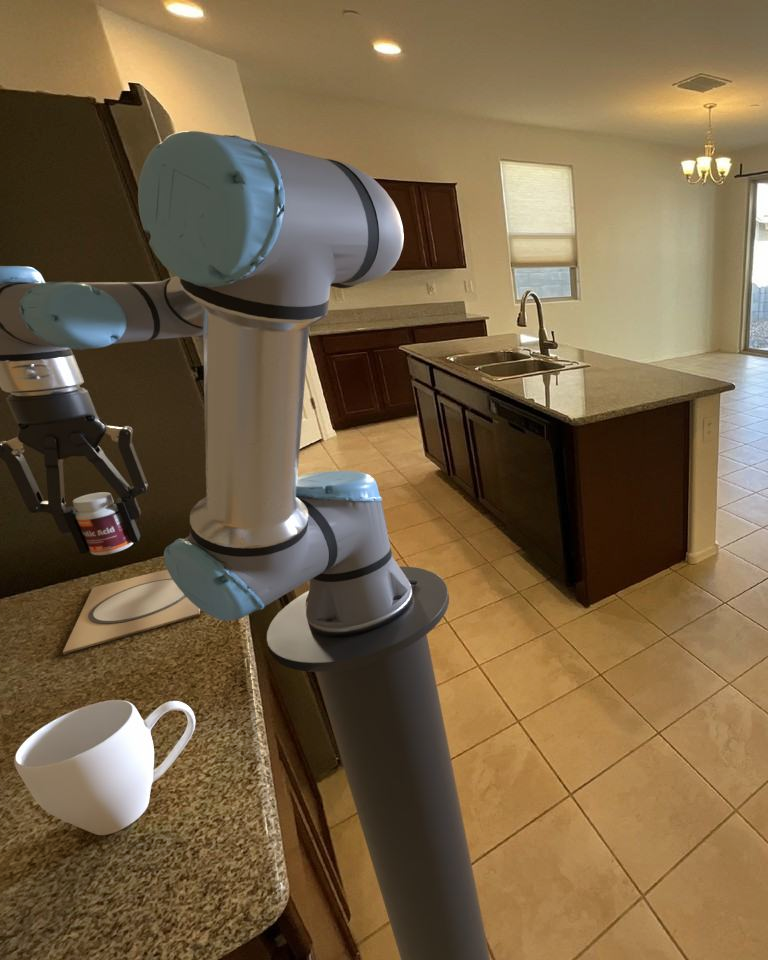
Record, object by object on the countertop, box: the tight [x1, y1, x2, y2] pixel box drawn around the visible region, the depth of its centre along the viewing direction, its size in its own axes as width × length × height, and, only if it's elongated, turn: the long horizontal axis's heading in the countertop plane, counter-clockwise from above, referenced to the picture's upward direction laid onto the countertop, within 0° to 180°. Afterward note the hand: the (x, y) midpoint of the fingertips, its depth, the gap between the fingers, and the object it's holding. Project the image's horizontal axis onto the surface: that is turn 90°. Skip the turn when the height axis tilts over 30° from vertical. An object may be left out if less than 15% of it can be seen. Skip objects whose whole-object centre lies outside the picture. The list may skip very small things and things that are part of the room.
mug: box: [13, 699, 196, 836], centre depth 53 cm, size 12×8×11 cm
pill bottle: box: [72, 491, 134, 556], centre depth 77 cm, size 5×5×8 cm
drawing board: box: [62, 569, 201, 655], centre depth 90 cm, size 16×22×1 cm
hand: (111, 544), depth 78 cm, fingers closed on pill bottle, 5 cm apart
